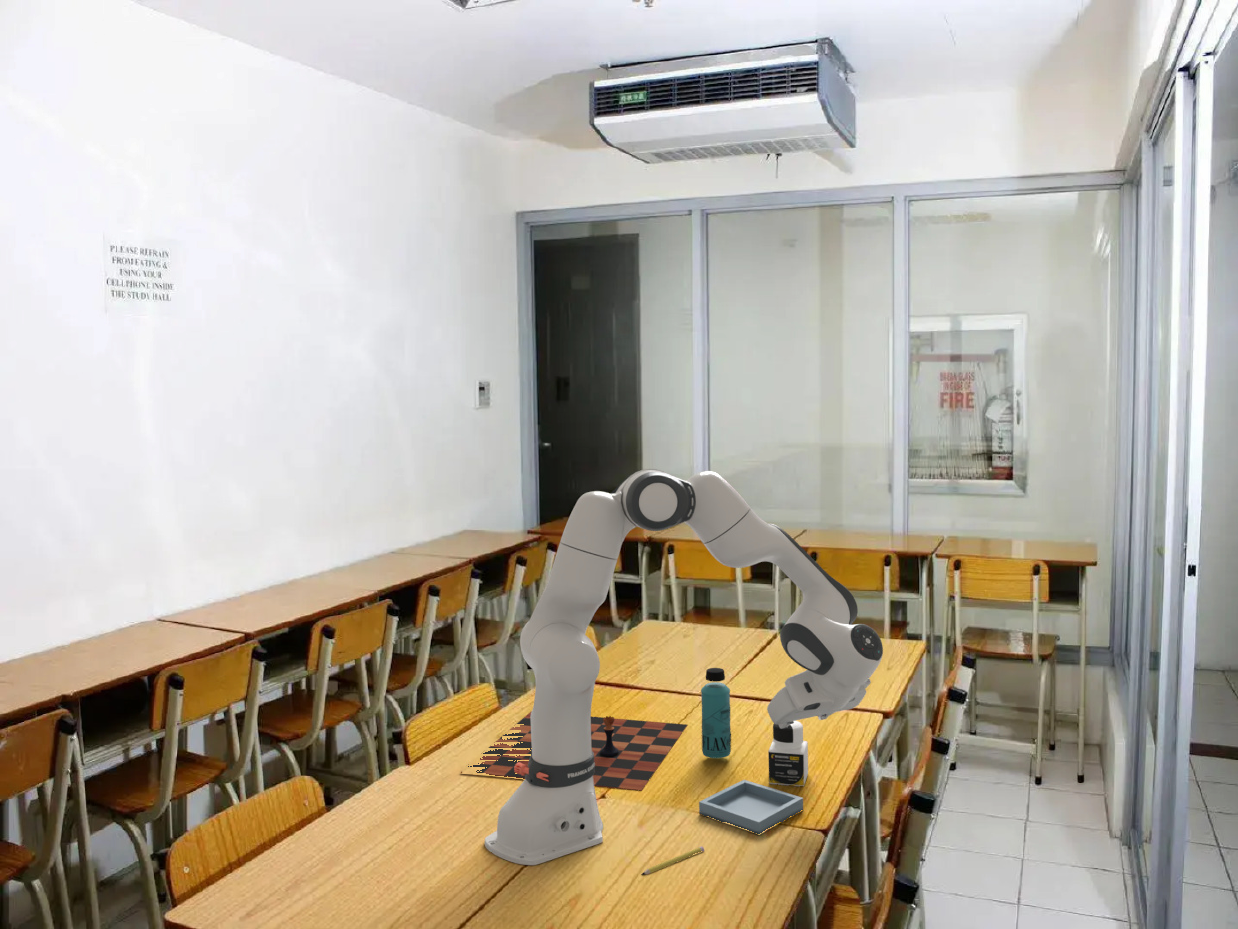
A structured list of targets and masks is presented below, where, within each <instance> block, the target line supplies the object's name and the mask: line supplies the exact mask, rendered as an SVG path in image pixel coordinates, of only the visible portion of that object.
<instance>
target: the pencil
mask: <svg viewBox="0 0 1238 929" xmlns="http://www.w3.org/2000/svg"><path fill="white" fill-rule="evenodd" d="M701 851H703V852H705V847H704V846H698V847H697V848H695V849H691V850H690V851H687V852H685V853H682V854H680V855H678V856H675V857H673V858H670V859H668V860H666V861H662V862H661V863H658V864H656V865H653V866H650V867H648V868H647V869H645V871H644V872H642V873H641V874H640V875H642V876H644V875H646V876H647V875H650V874H652V872H653V873H655V872H658V871H659V869H660V870H662V869H664V868H663V867H665V866H667V867H669V866H668V865H670V866H672V865H674V864H676V863H675V862H677V861H679V862H681V861H680V860H682V859H684V860H686V859H685V858H687V857H689V856H691V857H693V856H692V855H693V854H695V853H698V852H701ZM701 853H702V852H701ZM689 858H690V857H689ZM687 859H688V858H687ZM682 861H683V860H682ZM673 863H674V864H673ZM677 863H678V862H677ZM665 868H666V867H665ZM657 870H658V871H657ZM654 871H655V872H654Z"/></svg>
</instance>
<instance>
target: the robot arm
mask: <svg viewBox="0 0 1238 929" xmlns="http://www.w3.org/2000/svg"><path fill="white" fill-rule="evenodd" d="M683 523H684V524H685V525H687V526H688V527H689V528H690V529H691V530H692V531H693V532H694V533H695V534H696V536H697V537H698V538H699V540H700V541H701V543H702V545H704V547H705V548H706V549H707V551H708V552H709V554H710V555H711V556H712V557H713V558H714V559H715V560H716V561H717V562H719V563H720V564H721V565H723V566H726V567H728V568H735V569H739V568H740V569H741V568H747V567H750V566H751V567H752V566H754V565H757V564H759V563H761V562H762V563H763V562H768V563H771V564H773V565H776V566H777V567H778V568H779V569H780V571H781V572H783V573H784V574H785V575H786V576H787V578H789V579H790V580H791V581H792V582H793V583H794V585H795V586H796V587H797V588H799V589H800V591H801V593H802V597H803V598H802V601H801V603H800V604H799V605H798V607H797V608H796V609H795V610H794V612H792V614H791V615H790V617H789V618H788V619H787V620H786V622H785V623H784V625H783V626H782V627H781V629H780V633H779V638H780V639H779V640H780V644H781V646H782V649H783V651H784V652H785V654H786V655H787V657H789V658H790V659H791V660H792V661H793V662H794V663H796V664H797V665H798V666H800V667H801V668H803V669H804V671H802V672H799V673H797V674H794V675H792V676H790V677H788V678H786V679H785V681H784V685H785V686H784V687H782V688H781V689H779V690H778V692H777V693H776V694H775V695H774V696H773V697H772V699H771V700H770V702H769V703H768V705H767V708H766V710H767V713H768V716H769V717H770V719H771V721H772V723H773V724H778V725H779V727H780V728H781V729H782V728H786V727H788V726H789V725H790V722H791V721H801V720H804V719H809V718H814V717H818V720H819V721H823V720H824V721H825V720H827V719H828V717H830V716H831V715H833V714H835V713H837V712H842V711H848V710H851V709H854V708H857V706H859V705H860V703H861V702H862V701H863V699H864V698H865V696H866V695H867V690H866V688H868V686H869V685H871V677H872V675H874V673H875V672H876V670H877V668H879V666H880V663H881V661H882V658H883V655H884V645H883V642H882V640H881V638H880V636H879V634H878V633H877V631H876V630H875V629H874V628H872V627H870V626H869V625H867V624H864V623H857V624H853V623H854V622H856V621H855V620H856V619H857V617H858V610H859V608H858V604H857V602H856V599H855V597H854V595H853V593H852V592H851V591H850V590H849V589H848V588H847V587H846V586H845V585H843V584H842V583H841V582H840V581H837V580H836V579H835V578H834V577H832V576H831V575H830V574H829V573H827V571H826V570H825V569H824V568H822V566H821V565H820V564H819V563H818V562H817V561H816V560H814V559H815V558H812V557H811V555H810V554H809V553H808V552H807V551H806V550H805V549H804V548H803V547H802V546H801V545H800V544H799V543H798V542H797V541H796V540H795V539H794V538H793V537H792V536H791V535H789V533H787V532H786V531H785V530H784V529H783V528H781V527H780V526H778V525H776V524H774V523H768V522H766V521H765V520H763V519H762V518H761V517H760V516H759V515H757V513H756V512H755V511H754V510H753V509H752V508H751V506H750V505H749V504H748V503H747V502H746V500H745V498H744V497H743V496H742V495H740V493H739V492H738V491H737V490H736V489H735V488H734V487H733V486H732V485H731V483H729V482H728V481H727V480H726V479H725V478H724V477H722V476H721V475H720V474H719V473H718V472H715V471H713V470H712V471H711V470H704V471H699V472H696V473H695V474H692V475H691V476H689V477H688V478H687V479H686V480H683V479H682V478H679V477H676V476H674V475H672V474H669V473H667V472H665V471H664V470H661V469H657V468H646V469H645V468H644V469H640V470H637V471H635V472H632V473H630V474H629V475H628V476H627V477H626V478H624V480H622V482H621V483H620V484H618V485H617V486H616V488H614V489H613V490H612V491H611V492H610V493H609V492H606V491H600V490H594V491H589V492H585V493H584V494H582V495H580V497H579V498H578V499H577V500H576V503H575V505H574V506H573V509H572V511H571V513H570V515H569V517H568V520H567V521H566V525H565V527H564V530H563V532H562V535H561V538H560V542H559V544H558V548H557V551H556V555H555V557H554V560H553V564H552V567H551V570H550V574H549V577H548V580H547V582H546V585H545V588H544V590H543V592H542V593H541V596H540V598H539V600H538V601H537V603H536V606H535V607H534V610H533V611H532V614H531V615H530V618H529V620H528V621H527V622H526V623H525V624H524V626H523V628H522V629H521V632H520V635H519V636H520V638H519V642H520V650H521V654H522V657H523V659H524V661H525V663H527V665H528V666H529V667H530V668H531V669H532V671H533V674H534V677H535V692H534V699H533V706H532V710H531V711H532V712H531V711H530V712H531V716H530V718H531V743H532V754H531V756H530V759H529V762H528V766H527V765H525V764H522V763H520V762H519V763H517V764H516V766H515V767H514V768H515V769H514V770H515V771H514V772H516V773H517V774H521V775H522V776H524V775H525V780H522V783H521V784H520V785H519V786H518V787H517V788H516V790H515V791H514V792H513V793H512V795H511V796H510V797H509V799H508V800H507V801H506V802H505V804H504V805H503V806H502V807H501V808H500V810H499V812H498V816H497V823H496V825H497V826H496V830H495V831H494V832H492V833H490V834H489V835H487V836H486V837H485V838H484V846H485V849H487V851H489V852H490V853H491V852H492V853H491V854H493V855H495V856H496V857H499V858H500V859H504V860H506V861H509V862H511V863H514V864H518V865H524V866H525V865H526V866H536V865H539V864H542V863H546V862H549V861H551V860H555V859H557V858H560V857H563V856H565V855H569V854H573V853H575V852H579V851H581V850H584V849H586V848H590V847H592V846H596V845H599V844H601V843H603V840H604V838H603V834H602V832H603V829H604V824H603V821H602V818H601V814H600V811H599V806H598V801H597V797H596V796H597V795H596V788H595V787H594V781H593V775H594V773H595V762H594V753H593V751H592V748H591V715H592V714H591V713H592V703H593V696H594V691H595V684H596V680H597V679H598V676H599V673H600V669H601V663H600V657H599V654H598V651H597V648H596V647H595V645H594V643H593V641H592V639H590V637H588V636H587V635H586V633H587V629H588V628H589V626H590V623H591V621H592V619H593V617H594V615H595V613H596V612H597V610H598V609H599V607H600V606H602V604H603V603H605V601H606V599H607V595H608V592H609V589H610V585H611V583H612V579H613V575H614V572H615V569H616V566H617V562H618V559H619V555H620V551H621V548H622V545H623V542H624V541H625V538H626V537H627V535H628V534H629V532H630V531H632V530H633V529H635V528H640V529H643V530H646V531H651V532H658V531H664V530H668V529H671V528H673V527H675V526H678V525H681V524H683Z"/></svg>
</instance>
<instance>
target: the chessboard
mask: <svg viewBox="0 0 1238 929" xmlns="http://www.w3.org/2000/svg"><path fill="white" fill-rule="evenodd" d="M531 712H532V710H531V711H529V712H528V714H526V715H525V716H524V717H523V718H521V719H520V720H519V721H518V722H517V723H516V724H524V725H520V727H515V728H514V727H513V726H512V727H511V728H510V729H509V730H521V732H519V733H515V734H514V733H512V734H508V735H507V734H505V733H504V734H505V735H504V734H502V736H523V737H518V738H513V739H512V738H510V739H508V738H507V740H505V739H504V740H503V739H502V736H500V737H499V738H498V739H497V740H496V741H495V742H520V744H519V743H517V744H516V745H515V744H514V746H513V745H511V746H509V745H507V744H503V743H502V744H501V743H500V745H499V744H497V745H495V744H494V746H491V745H490V746H489V747H488V748H530V750H531V751H530V750H528V749H527V750H516V749H515V750H514V749H512V751H510V750H503V749H498V750H497V749H495V751H494V750H493V751H491V750H490V751H488V752H485V753H483V752H482V753H483V754H500V755H501V756H500V755H497V756H486V757H485V756H483V757H482V758H483V759H481V758H480V760H496V761H485V762H482V763H481V764H480V765H473V767H485V769H482V770H480V771H482V772H480V771H479V770H477V771H479V772H477V771H476V772H477V773H486V774H489V775H495V776H504V777H507V776H508V777H516V778H523V779H525V775H524V776H522V775H521V774H515V773H516V772H514V771H515V770H514V769H515V768H514V767H515V766H516V764H517V763H519V762H520V763H522V764H525V765H527V766H528V762H529V761H518V762H517V760H529V759H530V756H520V755H519V756H517V755H516V756H517V757H515V756H509V755H503V754H532V749H531V748H532V743H531V718H530V716H531ZM687 727H688V724H683V723H672V722H661V721H660V722H659V721H649V720H639V719H638V720H635V719H628V718H627V719H626V718H615V717H614V716H610V715H609V716H604V717H603V716H602V717H601V716H591V748H592V751H593V753H594V762H595V773H594V775H593V781H594V786H597V787H596V788H604V787H607V788H606V789H615V788H616V789H617V790H626V789H627V790H629V791H638V790H639V791H638V792H642V791H643V790H644V789H645V787H646V786H647V784H648V782H650V780H651V778H653V775H654V774H655V773H656V772H657V770H658V768H659V767H660V765H661V764H662V763H663V761H664V760H665V759H666V757H667V756H668V754H669V752H671V750H672V749H673V747H674V745H675V744H676V742H677V741H678V740H679V738H680V737H681V736H682V734H683V733H684V731H685V730H686V728H687ZM682 732H683V733H682ZM521 742H523V743H521ZM497 760H498V761H497ZM508 760H513V761H508ZM515 760H516V761H515ZM514 761H515V762H514ZM483 763H484V764H483ZM478 764H479V763H478ZM468 767H469V766H468ZM470 767H472V766H470ZM486 767H487V768H486ZM649 779H650V780H649ZM645 785H646V786H645ZM627 790H626V791H627Z"/></svg>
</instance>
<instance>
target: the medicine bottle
mask: <svg viewBox="0 0 1238 929" xmlns="http://www.w3.org/2000/svg"><path fill="white" fill-rule="evenodd" d="M808 744H809V742H808V741H807V740H804V726H803V723H802V722H800V721H799V720H796V721H791V722H790V725H789V726H788V727H786V728H782V729H781V728H780V727H779V725H778V724H774V723H773V724H772V742H771V745H770V747H769V749H768V753H767V754H768V783H769V784H770V785H777V784H778V785H780V786H789V785H795V786H794V787H800V786H803V787H804V786H805V784H806V780H807V778H808V774H809V752H808V751H809V749H808V748H809V747H808V746H809V745H808Z"/></svg>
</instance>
